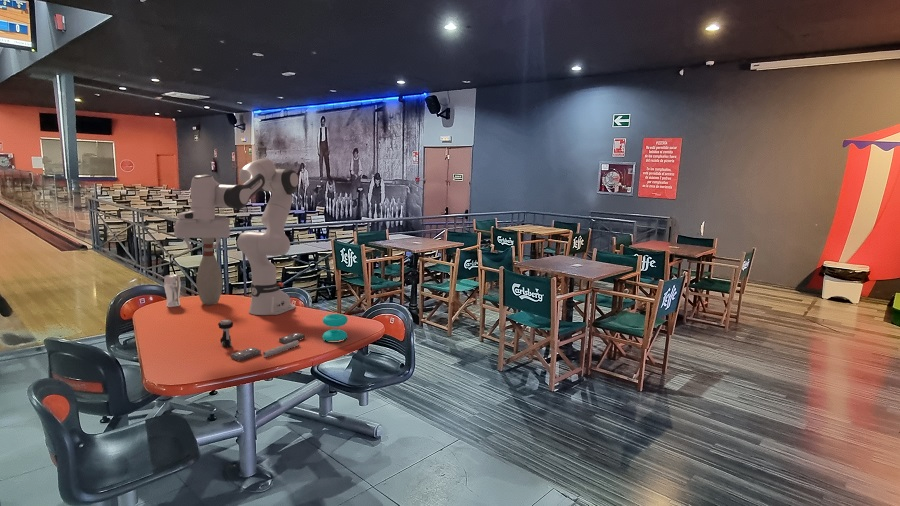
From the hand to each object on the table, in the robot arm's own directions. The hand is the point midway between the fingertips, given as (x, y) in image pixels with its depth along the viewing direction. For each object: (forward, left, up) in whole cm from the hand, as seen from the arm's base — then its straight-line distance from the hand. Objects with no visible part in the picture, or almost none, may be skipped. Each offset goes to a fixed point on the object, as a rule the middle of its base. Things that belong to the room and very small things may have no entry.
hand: (202, 248), depth 196 cm
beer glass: (-15, -49, -36) cm, 62 cm away
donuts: (-25, +48, -36) cm, 65 cm away
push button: (+5, +19, -36) cm, 41 cm away
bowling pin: (-28, -39, -36) cm, 60 cm away
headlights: (-3, +38, -35) cm, 52 cm away
